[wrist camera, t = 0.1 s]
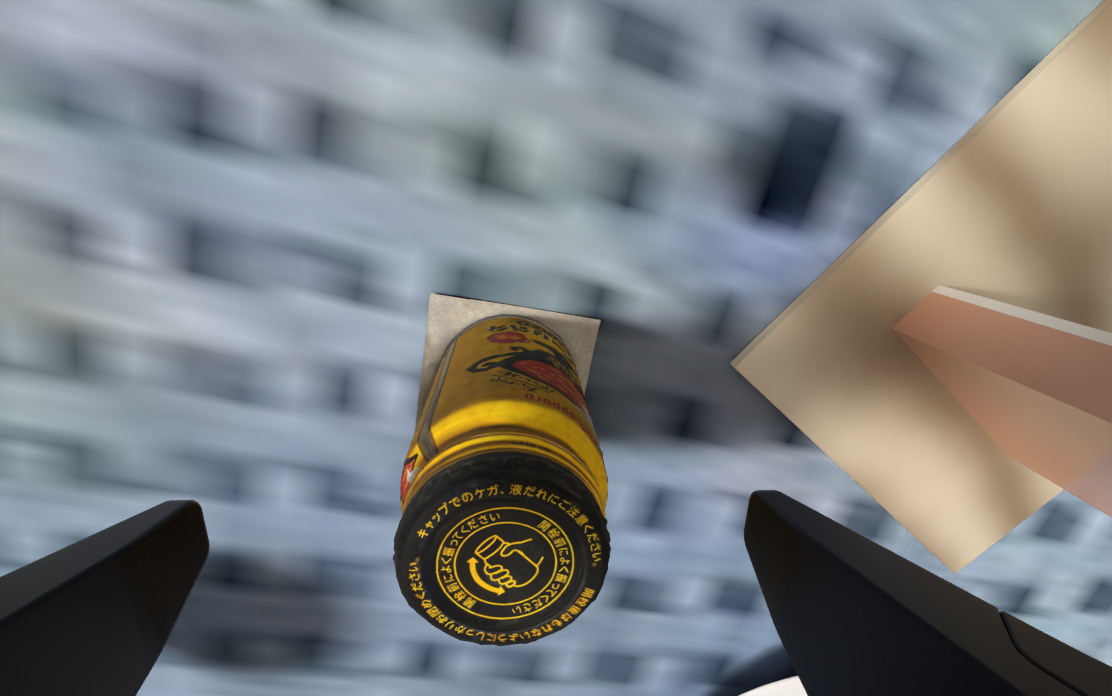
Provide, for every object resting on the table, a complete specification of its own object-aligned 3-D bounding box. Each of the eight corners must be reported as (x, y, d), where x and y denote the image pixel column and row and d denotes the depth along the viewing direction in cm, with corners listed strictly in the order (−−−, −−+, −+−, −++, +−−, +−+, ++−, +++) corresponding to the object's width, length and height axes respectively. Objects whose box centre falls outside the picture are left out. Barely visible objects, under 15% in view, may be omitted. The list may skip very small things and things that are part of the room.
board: (946, 566, 29) (954, 574, 28) (729, 363, 24) (734, 368, 24) (1374, 230, 24) (1395, 231, 24) (1210, -103, 20) (1231, -112, 19)
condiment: (600, 318, 23) (679, 463, 12) (564, 485, 26) (601, 735, 14) (431, 291, 22) (341, 420, 11) (411, 467, 25) (323, 718, 14)
